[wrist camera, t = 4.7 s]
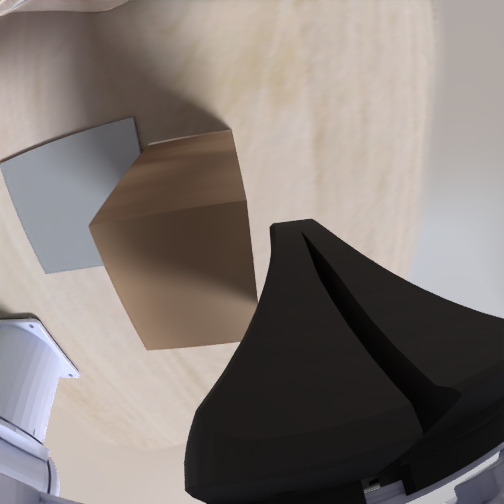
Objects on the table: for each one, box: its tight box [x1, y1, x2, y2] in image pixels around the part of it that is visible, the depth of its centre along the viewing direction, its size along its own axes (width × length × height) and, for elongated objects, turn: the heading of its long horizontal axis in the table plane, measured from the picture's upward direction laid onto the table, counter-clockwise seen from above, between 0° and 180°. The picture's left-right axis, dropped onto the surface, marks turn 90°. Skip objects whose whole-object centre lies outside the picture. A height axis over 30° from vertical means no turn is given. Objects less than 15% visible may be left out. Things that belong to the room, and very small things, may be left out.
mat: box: [0, 117, 141, 274], centre depth 14 cm, size 9×8×1 cm
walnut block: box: [88, 129, 258, 350], centre depth 11 cm, size 4×5×8 cm
